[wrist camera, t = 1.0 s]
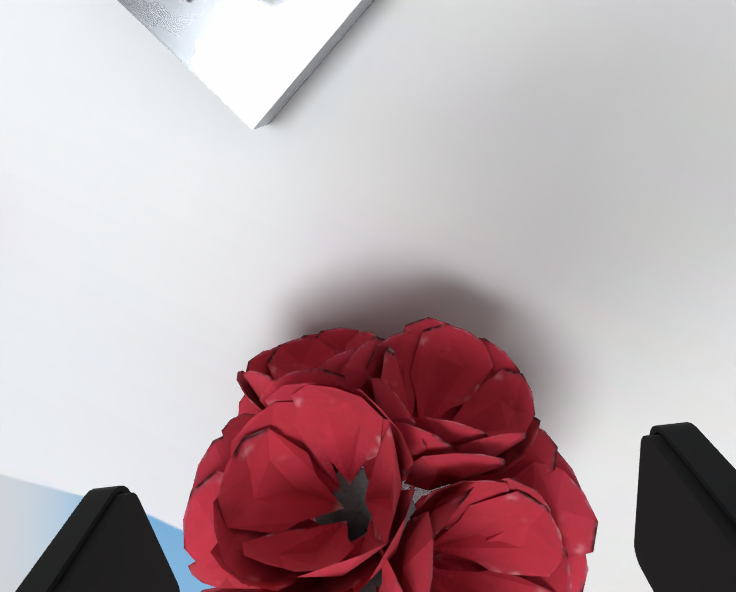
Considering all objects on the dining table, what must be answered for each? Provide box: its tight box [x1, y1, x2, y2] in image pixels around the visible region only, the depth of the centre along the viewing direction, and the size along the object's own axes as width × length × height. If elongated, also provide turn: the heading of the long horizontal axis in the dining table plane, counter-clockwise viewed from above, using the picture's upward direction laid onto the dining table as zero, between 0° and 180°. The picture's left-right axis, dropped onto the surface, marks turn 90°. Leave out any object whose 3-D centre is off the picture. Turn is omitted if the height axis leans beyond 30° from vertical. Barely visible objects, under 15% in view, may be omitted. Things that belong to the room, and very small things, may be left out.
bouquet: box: [183, 317, 598, 592], centre depth 31 cm, size 22×24×30 cm
